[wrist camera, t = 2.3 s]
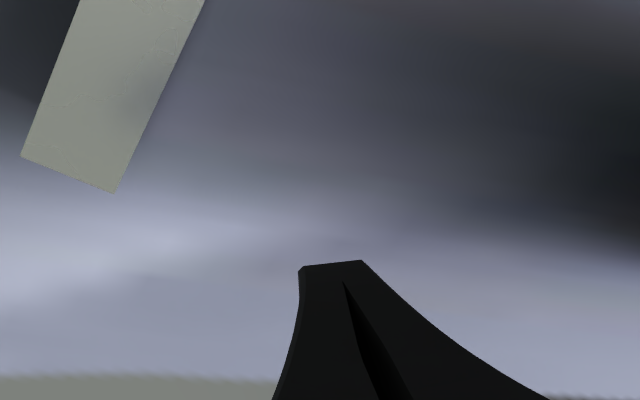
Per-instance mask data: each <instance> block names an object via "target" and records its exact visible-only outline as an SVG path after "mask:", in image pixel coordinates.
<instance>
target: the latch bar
mask: <svg viewBox="0 0 640 400" xmlns="http://www.w3.org/2000/svg"><path fill="white" fill-rule="evenodd" d="M204 2H205V0H80V2H79V5H78V7H77V10H76V13H75V15H74V18H73V20H72V23H71V25H70V28H69V31H68V33H67V36H66V38H65V41H64V43H63V46H62V49H61V51H60V54H59V56H58V59H57V61H56V64H55V67H54V69H53V72H52V74H51V77H50V79H49V82H48V85H47V87H46V90H45V92H44V95H43V97H42V100H41V103H40V105H39V108H38V110H37V113H36V115H35V118H34V121H33V123H32V126H31V128H30V131H29V133H28V136H27V139H26V141H25V144H24V146H23V149H22V151H21V154H20V157H23V158H25V159H28V160H30V161H33V162H35V163H37V164H40V165H42V166H45V167H47V168H50V169H52V170H55V171H57V172H60V173H62V174H65V175H67V176H70V177H72V178H75V179H77V180H80V181H82V182H84V183H87V184H89V185H92V186H94V187H97V188H99V189H102V190H104V191H107V192H109V193H112V194H114V193H115V191H116V189H117V187H118V185H119V183H120V181H121V178H122V176H123V174H124V172H125V170H126V168H127V166H128V163H129V161H130V159H131V157H132V155H133V153H134V151H135V149H136V146H137V144H138V142H139V140H140V138H141V136H142V134H143V132H144V129H145V127H146V125H147V123H148V121H149V119H150V117H151V114H152V112H153V110H154V108H155V106H156V104H157V102H158V100H159V97H160V95H161V93H162V91H163V89H164V87H165V85H166V83H167V80H168V78H169V76H170V74H171V72H172V70H173V68H174V65H175V63H176V61H177V59H178V57H179V55H180V53H181V51H182V48H183V46H184V44H185V42H186V40H187V38H188V36H189V34H190V31H191V29H192V27H193V25H194V23H195V21H196V19H197V16H198V14H199V12H200V10H201V8H202V6H203V4H204Z"/></svg>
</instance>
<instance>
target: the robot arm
mask: <svg viewBox="0 0 640 400" xmlns="http://www.w3.org/2000/svg"><path fill="white" fill-rule="evenodd" d="M298 280H299V307H298V312H297V318H296V323H295V328H294V333H293V337H292V340H291V344H290V347H289V351H288V354H287V358H286V361H285V364H284V367H283V370H282V373H281V376H280V379H279V382H278V384H277V387H276V390H275V393H274V395H273V397H272V400H549V399H548V398H546V397H544V396H542V395H540V394H538V393H536V392H535V391H533V390H531V389H529V388H527V387H525V386H523V385H522V384H520V383H518V382H516V381H515V380H513V379H511V378H510V377H508V376H506V375H505V374H503V373H501V372H500V371H498V370H497V369H495V368H493V367H492V366H490V365H489V364H487V363H486V362H484V361H483V360H481V359H479V358H478V357H476V356H475V355H473V354H472V353H470V352H469V351H467V350H466V349H465V348H463V347H462V346H460V345H459V344H457V343H456V342H455V341H453V340H452V339H451V338H450V337H448V336H447V335H446V334H444V333H443V332H442V331H440V330H439V329H438V328H436V327H435V326H434V325H433V324H431V323H430V322H429V321H428V320H427V319H425V318H424V317H423V316H422V315H421V314H420V313H418V312H417V311H416V310H415V309H414V308H413V307H412V306H410V305H409V304H408V303H407V302H406V301H405V300H404V299H402V298H401V297H400V296H399V295H398V294H397V293H396V292H395V291H394V290H393V289H392V288H391V287H390V286H388V285H387V284H386V283H385V282H384V281H383V280H382V279H381V278H380V277H379V276H378V275H377V274H376V273H375V272H374V271H373V270H372V269H371V268H370V267H369V266H368V265H367V264H366V263H364V262H363V261H362V260H354V261H345V262H336V263H327V264H318V265H309V266H303V267H302V268H301V269H300V270H299V271H298Z"/></svg>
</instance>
